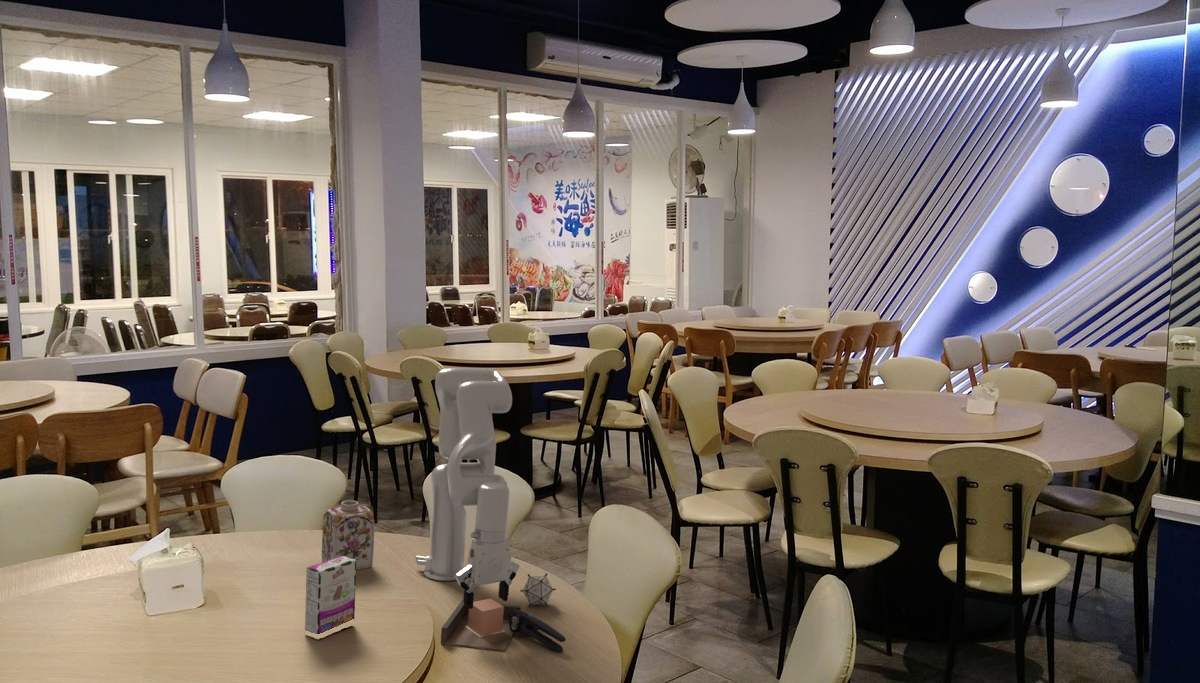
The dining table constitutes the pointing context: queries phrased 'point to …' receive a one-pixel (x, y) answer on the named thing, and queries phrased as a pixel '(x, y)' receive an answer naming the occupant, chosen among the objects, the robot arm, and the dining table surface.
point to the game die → (537, 590)
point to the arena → (463, 636)
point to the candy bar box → (330, 594)
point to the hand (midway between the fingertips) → (485, 602)
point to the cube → (486, 617)
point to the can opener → (534, 628)
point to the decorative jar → (349, 533)
